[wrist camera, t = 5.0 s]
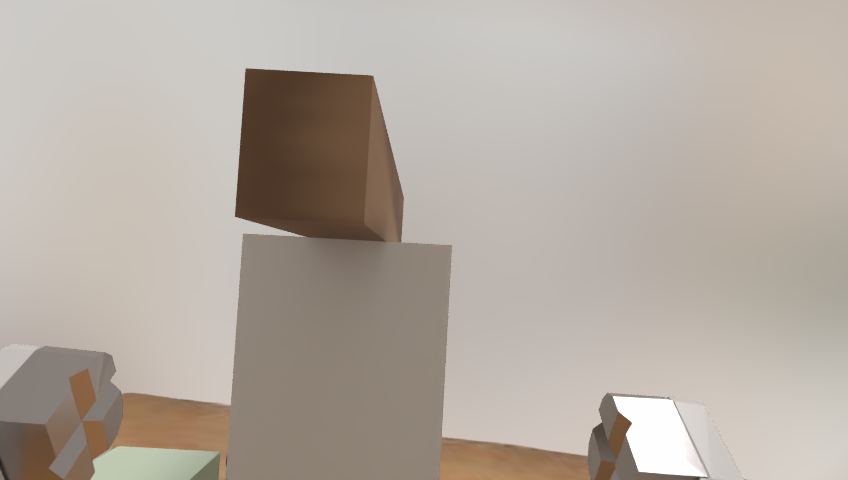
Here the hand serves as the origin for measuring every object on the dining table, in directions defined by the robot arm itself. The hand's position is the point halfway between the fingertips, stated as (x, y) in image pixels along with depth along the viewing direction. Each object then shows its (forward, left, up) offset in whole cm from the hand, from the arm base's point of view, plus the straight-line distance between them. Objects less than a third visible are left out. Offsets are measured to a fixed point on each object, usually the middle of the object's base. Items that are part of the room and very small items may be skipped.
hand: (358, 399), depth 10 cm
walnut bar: (-2, +16, +3) cm, 16 cm away
